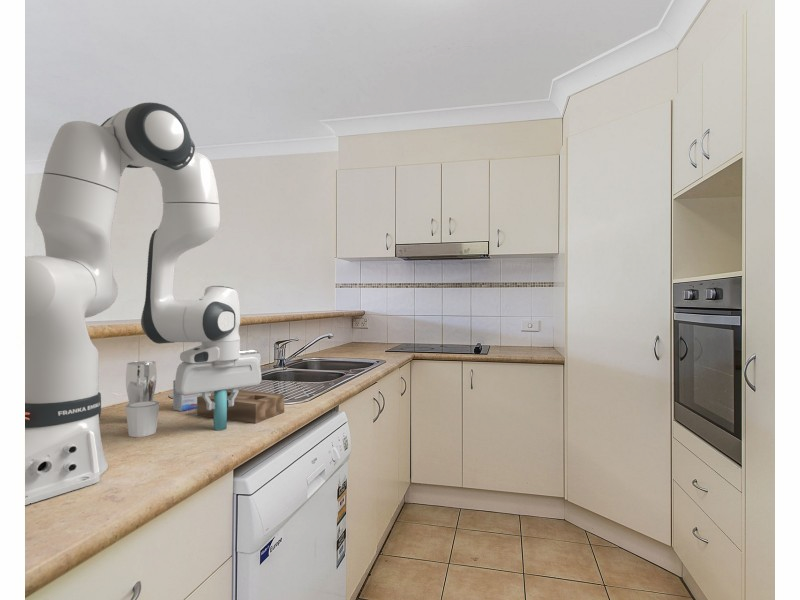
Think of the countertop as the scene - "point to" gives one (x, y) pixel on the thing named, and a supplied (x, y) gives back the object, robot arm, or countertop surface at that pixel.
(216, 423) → the peg
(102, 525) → the countertop surface
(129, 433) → the white faceted cup
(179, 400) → the medicine box
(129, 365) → the beer glass
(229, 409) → the hole block
